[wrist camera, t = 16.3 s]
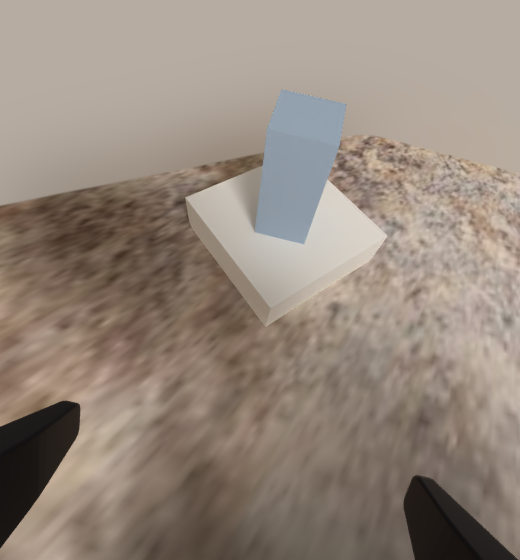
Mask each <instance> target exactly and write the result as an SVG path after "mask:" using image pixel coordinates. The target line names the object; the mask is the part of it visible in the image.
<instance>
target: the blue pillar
mask: <svg viewBox="0 0 520 560" xmlns="http://www.w3.org/2000/svg"><path fill="white" fill-rule="evenodd" d="M345 109H346V104H344V103H339V102H335V101H331V100H326V99H322V98H317V97H313V96H309V95H304V94H300V93H295V92H291V91H287V90H281V92H280V95H279V98H278V100H277V103H276V106H275V109H274V111H273V114H272V117H271V120H270V122H269V125H268V128H267V134H266V143H265V151H264V159H263V167H262V176H261V184H260V192H259V200H258V209H257V217H256V225H255V232H256V233H260V234H264V235H268V236H272V237H276V238H280V239H284V240H288V241H292V242H296V243H300V244H304V243H305V240H306V238H307V235H308V232H309V229H310V226H311V224H312V221H313V218H314V215H315V212H316V210H317V207H318V204H319V201H320V198H321V196H322V193H323V190H324V187H325V185H326V182H327V179H328V176H329V173H330V171H331V168H332V165H333V162H334V159H335V157H336V154H337V151H338V148H339V145H340V139H341V133H342V127H343V120H344V115H345Z"/></svg>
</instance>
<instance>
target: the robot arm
mask: <svg viewBox="0 0 520 560" xmlns="http://www.w3.org/2000/svg"><path fill="white" fill-rule="evenodd" d="M79 425H80V405H79V404H78V403H75V402H70V401H61V402H59V403H56V404H54V405H51V406H49V407H47V408H44V409H42V410H39V411H37V412H34V413H32V414H30V415H27V416H25V417H22V418H20V419H18V420H15V421H13V422H10V423H8V424H6V425H3V426H1V427H0V548H1V547H2V545H3V544H4V543H5V541H6V540H7V539H8V538H9V536H10V535H11V534H12V532H13V531H14V530H15V528H16V527H17V526H18V524H19V523H20V522H21V520H22V519H23V518H24V516H25V515H26V514H27V512H28V511H29V510H30V509H31V507H32V506H33V504H34V503H35V502H36V500H37V499H38V498H39V496H40V494H41V493H42V491H43V490H44V488H45V487H46V485H47V484H48V482H49V481H50V479H51V477H52V476H53V474H54V473H55V471H56V469H57V468H58V466H59V465H60V463H61V461H62V460H63V458H64V457H65V455H66V453H67V452H68V450H69V449H70V447H71V445H72V444H73V442H74V441H75V439H76V437H77V435H78V432H79ZM404 512H405V516H406V521H407V525H408V530H409V534H410V539H411V544H412V548H413V553H414V557H415V560H518V559H517V558H516V557H515V556H514V555H513V554H511V553H510V552H509V551H508V550H507V549H506V548H505V547H504V546H503V545H502V544H501V543H500V542H499V541H498V540H497V539H496V538H494V537H493V536H492V535H491V534H490V533H489V532H488V531H487V530H486V529H485V528H484V527H483V526H482V525H481V524H480V523H478V522H477V521H476V520H475V519H474V518H473V517H472V516H471V515H470V514H469V513H468V512H467V511H466V510H465V509H464V508H463V507H461V506H460V505H459V504H458V503H457V502H456V501H455V500H454V499H453V498H452V497H451V496H450V495H449V494H448V493H447V492H445V491H444V490H443V489H442V488H441V487H440V486H439V485H438V484H437V483H436V482H435V481H434V480H433V479H431V478H429V477H424V476H419V475H415V476H414V477H413V478H412V480H411V482H410V485H409V487H408V490H407V493H406V495H405V498H404Z"/></svg>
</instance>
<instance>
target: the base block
mask: <svg viewBox="0 0 520 560" xmlns="http://www.w3.org/2000/svg"><path fill="white" fill-rule="evenodd" d="M262 167H263V165H262V166H260V167H257V168H255V169H253V170H250V171H248V172H245V173H243V174H241V175H238V176H236V177H233V178H231V179H228V180H226V181H224V182H221V183H219V184H216V185H214V186H212V187H209V188H207V189H204V190H202V191H200V192H197V193H195V194H192V195H190V196H188V197H185V199H186V205H187V211H188V217H189V223H190V226H191V227H192V229H193V230H194V232H195V233H196V234H197V236H198V237H199V238H200V240H201V241H202V242H203V244H204V245H205V246H206V248H207V249H208V250H209V252H210V253H211V255H212V256H213V257H214V259H215V260H216V261H217V263H218V264H219V265H220V267H221V268H222V269H223V271H224V272H225V273H226V275H227V276H228V278H229V279H230V280H231V282H232V283H233V284H234V286H235V287H236V288H237V290H238V291H239V292H240V294H241V295H242V296H243V298H244V299H245V301H246V302H247V303H248V305H249V306H250V307H251V309H252V310H253V311H254V313H255V314H256V315H257V317H258V318H259V319H260V321H261V322H262V324H263V325H264V326H265V327H266V326H268V325H270V324H271V323H273V322H274V321H276V320H277V319H279V318H280V317H282V316H284V315H285V314H287V313H288V312H290V311H291V310H293V309H295V308H296V307H298V306H299V305H301V304H302V303H304V302H305V301H307V300H309V299H310V298H312V297H313V296H315V295H316V294H318V293H320V292H321V291H323V290H324V289H326V288H327V287H329V286H330V285H332V284H334V283H335V282H337V281H338V280H340V279H341V278H343V277H345V276H346V275H348V274H349V273H351V272H352V271H354V270H355V269H357V268H359V267H360V266H362V265H363V264H365V263H366V262H368V261H370V260H371V259H372V257H373V256H374V254H375V253H376V251H377V250H378V249H379V247H380V246H381V244H382V243H383V242H384V240H385V239H386V237H387V235H386V234H385V233H384V232H383V231H382V230H381V229H380V228H378V227H377V226H376V225H375V224H374V223H373V222H372V221H371V220H370V219H369V218H368V217H367V216H366V215H365V214H364V213H363V212H361V211H360V210H359V209H358V208H357V207H356V206H355V205H354V204H353V203H352V202H351V201H350V200H349V199H348V198H347V197H346V196H344V195H343V194H342V193H341V192H340V191H339V190H338V189H337V188H336V187H335V186H334V185H333V184H332V183H331V182H330V181H329V180H328V179H327V182H326V185H325V187H324V190H323V193H322V196H321V198H320V201H319V204H318V207H317V210H316V212H315V215H314V218H313V221H312V224H311V226H310V229H309V232H308V235H307V238H306V240H305V243H304V244H300V243H296V242H292V241H288V240H284V239H280V238H276V237H272V236H268V235H264V234H260V233H256V232H255V225H256V217H257V209H258V200H259V192H260V184H261V176H262Z"/></svg>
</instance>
